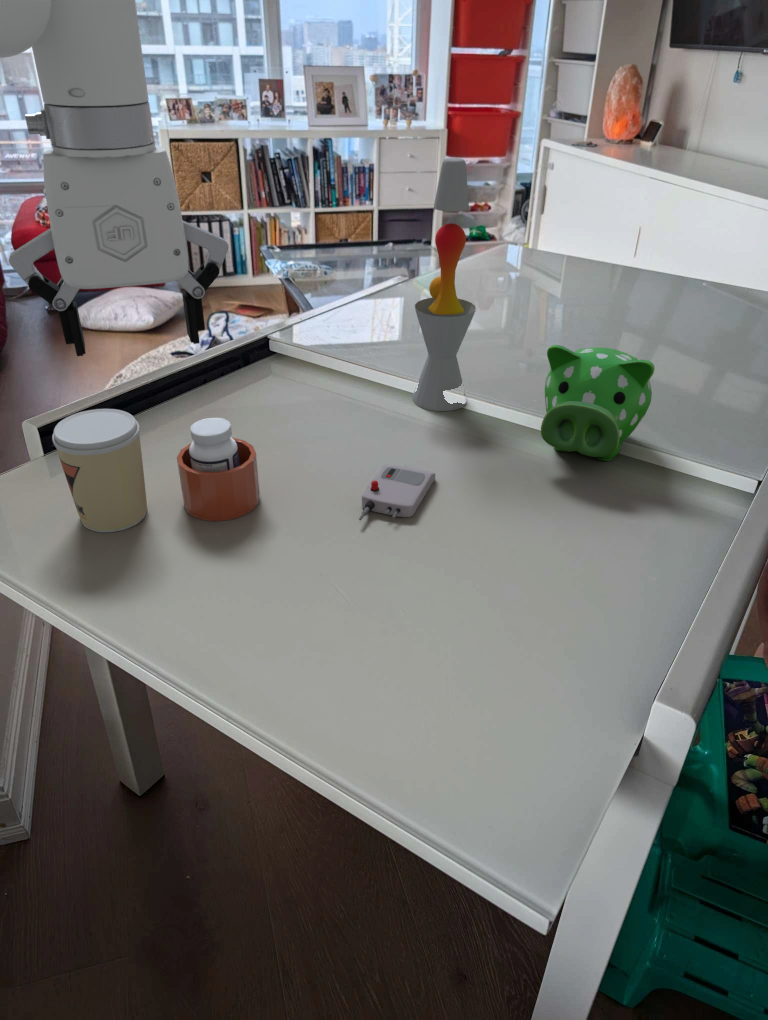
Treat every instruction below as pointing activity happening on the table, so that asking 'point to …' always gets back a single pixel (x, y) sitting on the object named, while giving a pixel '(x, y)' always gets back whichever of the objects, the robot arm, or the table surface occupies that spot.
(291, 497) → the table surface
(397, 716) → the table surface
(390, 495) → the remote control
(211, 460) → the pill bottle
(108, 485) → the coffee cup
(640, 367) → the piggy bank
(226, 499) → the pen cup
